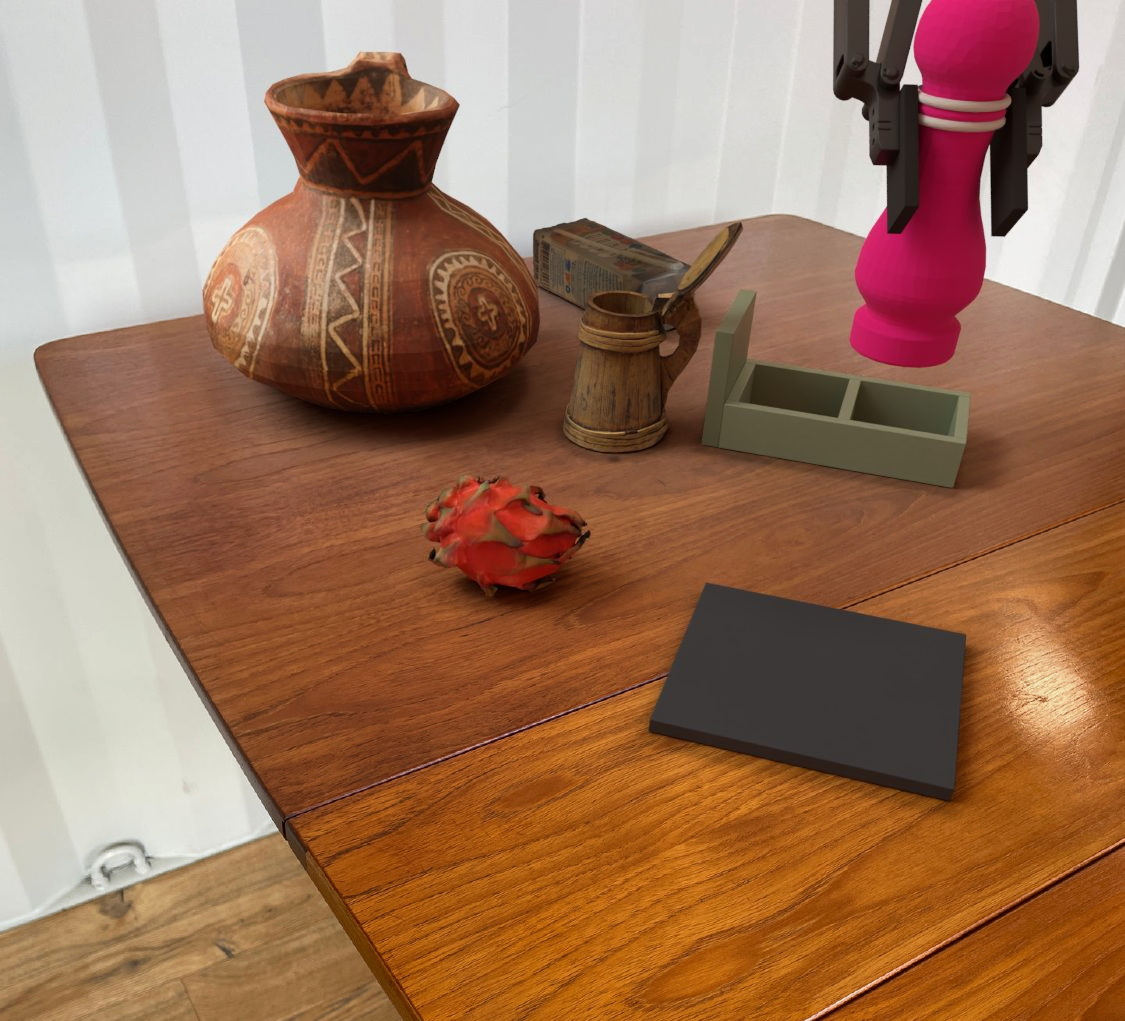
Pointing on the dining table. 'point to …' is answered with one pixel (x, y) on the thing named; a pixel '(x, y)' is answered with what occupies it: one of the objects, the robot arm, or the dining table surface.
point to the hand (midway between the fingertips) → (956, 221)
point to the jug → (369, 257)
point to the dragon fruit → (501, 533)
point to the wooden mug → (635, 358)
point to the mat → (818, 689)
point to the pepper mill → (943, 183)
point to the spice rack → (829, 413)
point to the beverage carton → (600, 263)
